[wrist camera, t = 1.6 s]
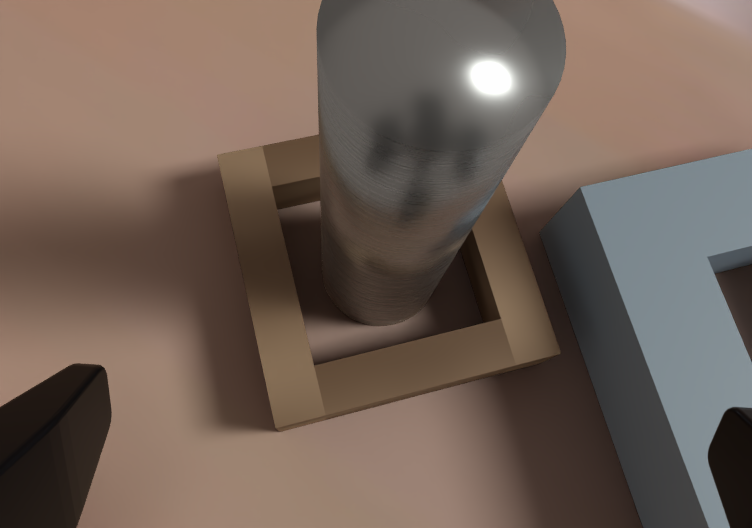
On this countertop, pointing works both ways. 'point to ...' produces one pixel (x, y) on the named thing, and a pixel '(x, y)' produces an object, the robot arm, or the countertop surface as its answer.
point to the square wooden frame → (387, 365)
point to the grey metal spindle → (420, 135)
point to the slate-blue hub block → (660, 321)
